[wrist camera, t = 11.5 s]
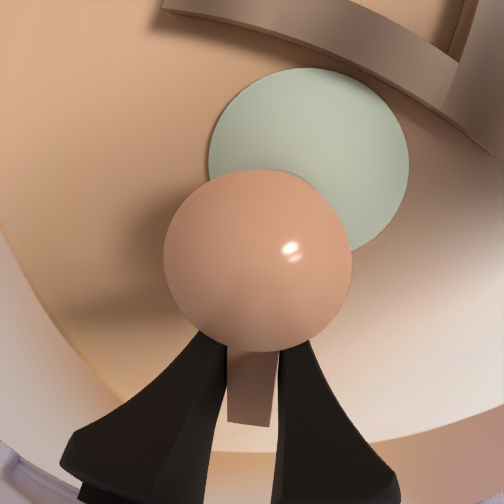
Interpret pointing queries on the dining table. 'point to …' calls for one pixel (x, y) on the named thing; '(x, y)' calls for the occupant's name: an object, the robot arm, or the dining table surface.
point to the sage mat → (319, 143)
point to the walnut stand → (392, 52)
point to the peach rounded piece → (257, 274)
